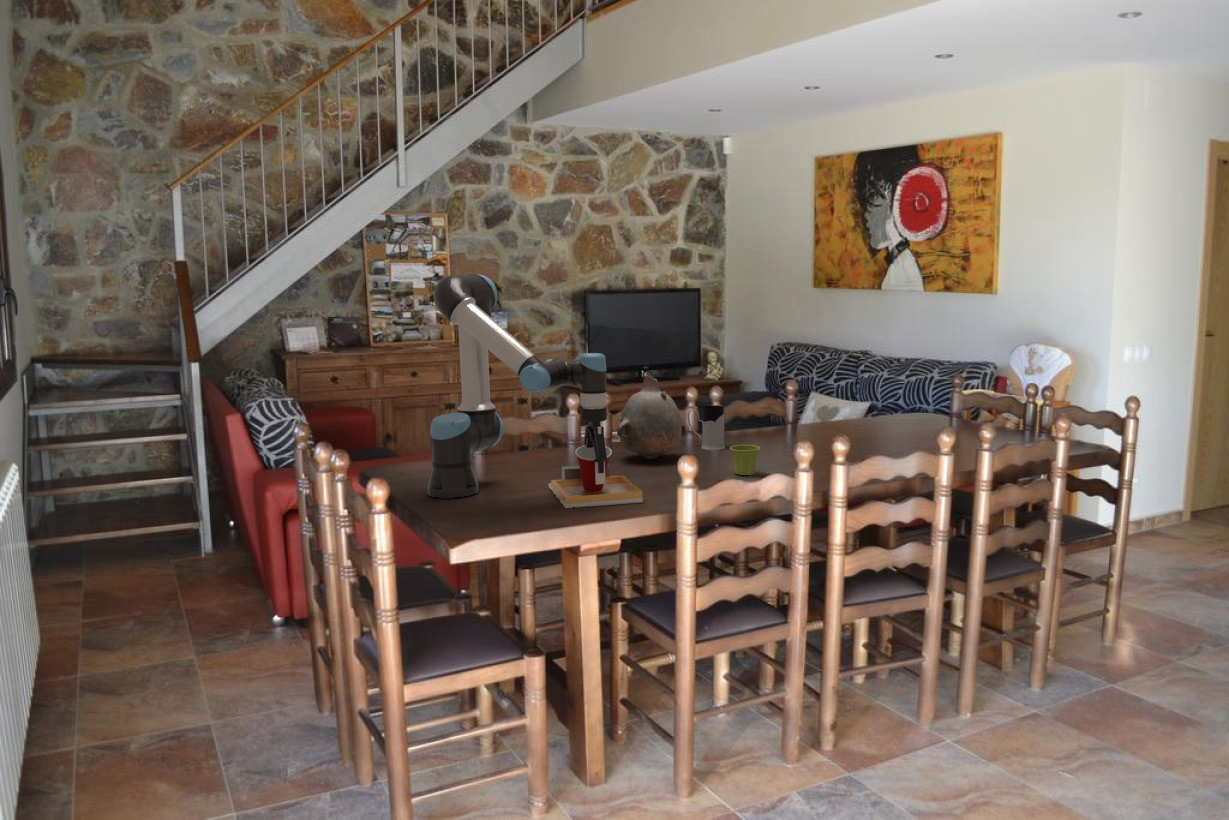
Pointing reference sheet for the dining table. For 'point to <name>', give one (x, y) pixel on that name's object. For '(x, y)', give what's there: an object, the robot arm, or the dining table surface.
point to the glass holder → (711, 427)
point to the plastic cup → (590, 467)
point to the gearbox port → (611, 494)
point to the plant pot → (744, 458)
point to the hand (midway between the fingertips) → (595, 479)
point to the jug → (650, 421)
